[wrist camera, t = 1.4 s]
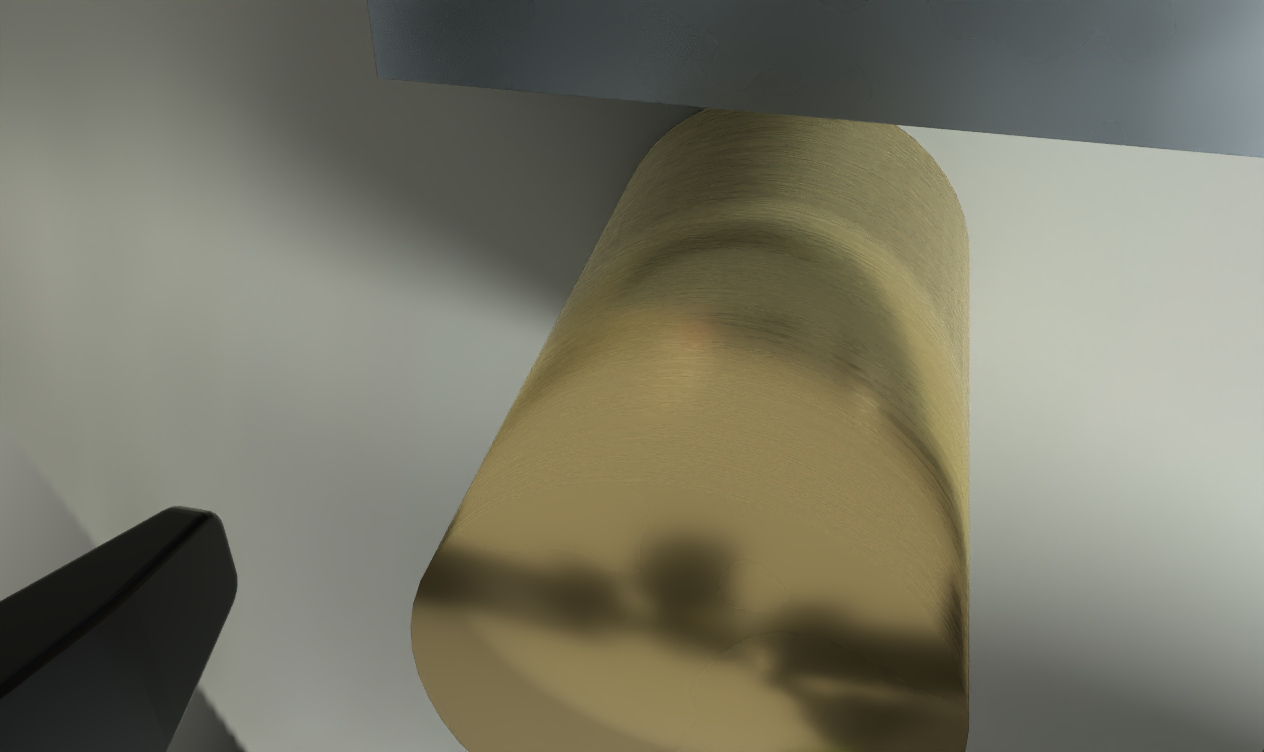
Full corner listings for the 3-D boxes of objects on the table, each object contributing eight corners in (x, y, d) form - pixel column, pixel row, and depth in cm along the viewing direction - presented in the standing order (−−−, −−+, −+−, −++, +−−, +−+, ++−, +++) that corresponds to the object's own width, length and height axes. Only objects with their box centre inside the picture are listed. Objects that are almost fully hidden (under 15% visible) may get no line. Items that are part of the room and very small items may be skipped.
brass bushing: (939, 421, 16) (922, 913, 10) (618, 377, 16) (439, 809, 11) (999, 109, 13) (1021, 540, 7) (615, 76, 14) (377, 442, 8)
